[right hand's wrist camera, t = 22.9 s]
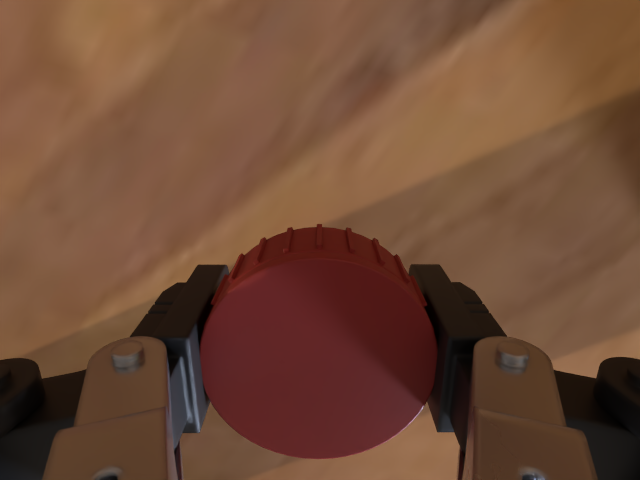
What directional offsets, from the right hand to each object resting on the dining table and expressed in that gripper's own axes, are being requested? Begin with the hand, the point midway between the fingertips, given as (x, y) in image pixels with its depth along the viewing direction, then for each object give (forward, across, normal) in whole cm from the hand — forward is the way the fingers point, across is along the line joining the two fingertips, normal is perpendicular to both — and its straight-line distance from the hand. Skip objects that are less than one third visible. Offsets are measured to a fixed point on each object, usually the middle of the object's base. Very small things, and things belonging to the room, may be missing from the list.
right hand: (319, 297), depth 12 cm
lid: (-3, 0, 0) cm, 3 cm away
